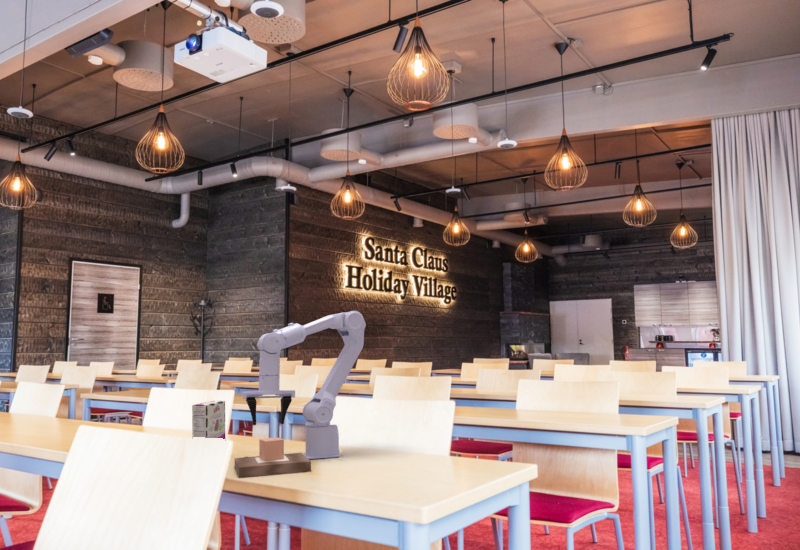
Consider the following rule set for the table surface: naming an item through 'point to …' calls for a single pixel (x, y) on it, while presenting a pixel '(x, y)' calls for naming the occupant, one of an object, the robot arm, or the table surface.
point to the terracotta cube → (271, 449)
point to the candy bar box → (209, 419)
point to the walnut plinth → (272, 465)
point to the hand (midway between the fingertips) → (268, 424)
